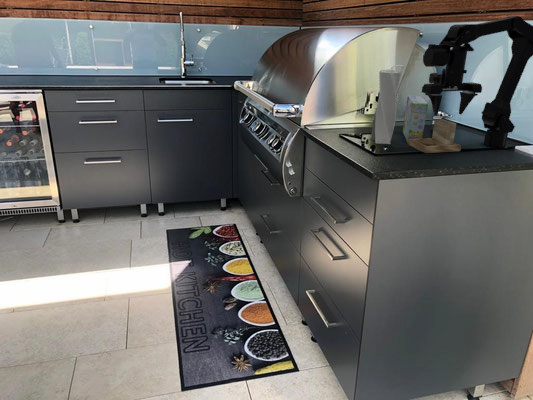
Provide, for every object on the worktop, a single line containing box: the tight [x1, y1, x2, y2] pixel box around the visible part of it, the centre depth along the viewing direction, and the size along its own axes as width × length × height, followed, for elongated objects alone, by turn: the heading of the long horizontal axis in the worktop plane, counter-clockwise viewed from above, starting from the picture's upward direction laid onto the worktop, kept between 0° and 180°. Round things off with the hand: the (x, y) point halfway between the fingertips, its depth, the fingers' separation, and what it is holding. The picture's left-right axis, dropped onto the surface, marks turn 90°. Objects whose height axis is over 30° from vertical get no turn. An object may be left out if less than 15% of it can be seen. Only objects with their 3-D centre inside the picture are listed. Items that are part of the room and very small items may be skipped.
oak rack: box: [407, 137, 462, 154], centre depth 150 cm, size 13×11×3 cm
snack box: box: [402, 95, 429, 143], centre depth 163 cm, size 21×6×15 cm, turn 168°
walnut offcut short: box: [418, 140, 434, 146], centre depth 148 cm, size 3×5×1 cm, turn 18°
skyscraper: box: [370, 64, 405, 145], centre depth 153 cm, size 8×8×28 cm
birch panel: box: [431, 118, 457, 145], centre depth 149 cm, size 3×8×9 cm, turn 12°
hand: (448, 114), depth 145 cm, fingers open, 9 cm apart
